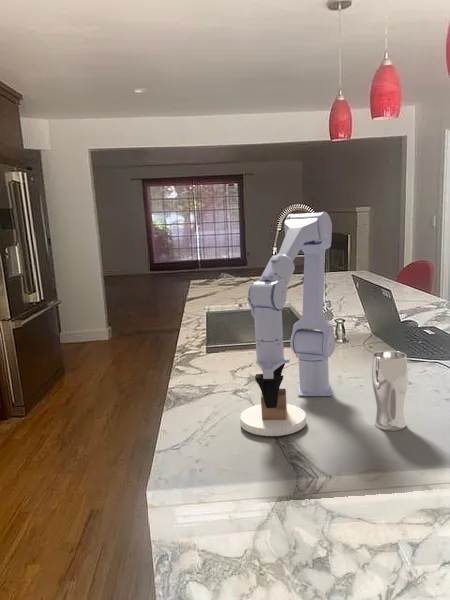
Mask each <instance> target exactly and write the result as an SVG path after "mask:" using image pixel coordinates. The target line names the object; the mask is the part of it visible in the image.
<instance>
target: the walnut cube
mask: <svg viewBox="0 0 450 600" xmlns="http://www.w3.org/2000/svg"><path fill="white" fill-rule="evenodd" d="M260 404H261V409H262V420H286V415H287V404H288V403H287V389H286V388H279V392H278V401H277V407H276V408H266V406H265V403H264V399H263V395H262V393H261V394H260Z"/></svg>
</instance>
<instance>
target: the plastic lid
mask: <svg viewBox="0 0 450 600" xmlns="http://www.w3.org/2000/svg"><path fill="white" fill-rule="evenodd" d="M286 404H287V415H286V420H262V409H261V403H259V404H256V405H255V404H254V405H251V406H250V407H248V408H246V409H244V410H243V411H242V412H241V413H240V414H239V415H240V416H239V419H240V426H241V428H242V429H243V430H244V431H245V432H248V433H250V434H253V435H257V436H263V437H264V436H265V437H282V436H285V435H291V434H294V433H296V432H299V431H300V430H302V429H303V428H304V427H306V424H307V413H306V411H304V410H303V409H302V408H301V407H299V406H297V405H293V404H290V403H286Z"/></svg>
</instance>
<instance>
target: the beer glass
mask: <svg viewBox="0 0 450 600" xmlns="http://www.w3.org/2000/svg"><path fill="white" fill-rule="evenodd" d="M371 355H372V359H371V360H372V361H371V384H372V389H373V393H374V398H375V399H374V400H375V405H376V414H375V419H374V426H375V427H377V428H378V429H380V430H383V431H388V432H397V431H402V430H403V429H405V428H406V425H407V424H406V418H405V414H404V406H405V399H406V394H407V390H408V389H407V387H408V380H409V375H408V374H409V373H408V370H409V369H408V361H407V360H408V359H407V354H406V353H404V352H403V351H398V350H391V349H390V350H378V351H374V352H373V353H372V354H371Z"/></svg>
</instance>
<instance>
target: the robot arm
mask: <svg viewBox="0 0 450 600" xmlns="http://www.w3.org/2000/svg"><path fill="white" fill-rule="evenodd" d="M283 224H284V227H283V228H284V230H283V231H284V238H283V241H282V243H281V246H280V248H279V251H278V254H275V255H273V256H271V257H270V259H269V261H268V263H267V264H266V267H265V269H264V270H263V272H262V273H261V276H260V278H259V280H257V281H254V282H253V283H251V285H250V286H249V288H248V290H247V291H248V293H247V296H246V299H247V303H248V306H249V308H250V312H251V314H250V315H251V316H252V317H253V319H254V333H255V334H254V335H255V336H254V337H255V338H254V339H255V350H256V353H255V355H256V356H255V357H256V359H255V364H256V365H257V366H258V367H259V369H260V370H261V371H262V373H256V374H255V375H254V376H255V377H254V378H255V382H256V384H257V385H258V387H259V388H260V391H261V394H262V395H263V399H264V403H265V406H266V408H276V407H277V401H278V392H279V389H280V387H281V384H282V382H283V381H284V375H282V374H283V370H284V367H285V366H286V364H289V363H290V360H291V359H290V358H291V357H288V356H285V353H284V350H285V349H284V335H283V310H282V309H283V308H284V307H285V305H286V302H287V296H288V295H287V293H288V292H289V291H288V290H289V289H288V285H289V282H290V280H291V278H292V276H293V274H294V273H295V272H294V271H295V268H296V266H295V263H294V261H295V259H296V257H297V256H298V255H299V252H301V251H302V252H303V254H304V257H303V258H304V259H303V264H304V265H303V285H302V286H303V292H302V293H303V294H302V317H301V318H299V320H298V321H296V322H294V324H293V325H292V332H291V335H290V341H289V342H290V343H289V344H290V349H291V351H292V353H293V354H295V358H297V359H298V371H299V372H298V374H299V376H298V377H299V379H298V380H299V381H298V383H297V384H298V387H297V389H298V392H297V396H298V397H331V396H332V389H331V388H332V387H331V382H330V377H329V375H330V373H329V358H330V357H332V355H333V354H334V352H335V348H336V338H335V329H334V326H333V325H332V324H331V323H330V322H329V321H327V320H326V319H325V318H324V290H325V289H324V288H325V263H326V262H325V259H326V250H328V249H329V248H331V246H332V239H333V238H332V232H333V222H332V220H331V217H330V215H329V214H328V212H326V211H321V212H311V213H295V214H294V213H289V214H288V215H287V216H286V218H285V220H284V223H283ZM306 329H307V330H306Z"/></svg>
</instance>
